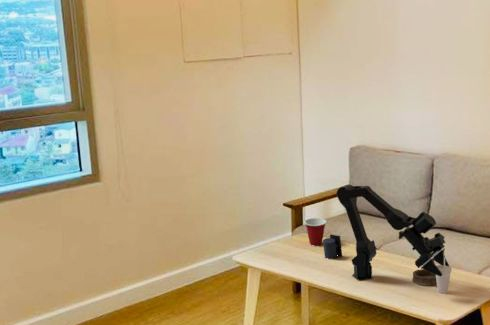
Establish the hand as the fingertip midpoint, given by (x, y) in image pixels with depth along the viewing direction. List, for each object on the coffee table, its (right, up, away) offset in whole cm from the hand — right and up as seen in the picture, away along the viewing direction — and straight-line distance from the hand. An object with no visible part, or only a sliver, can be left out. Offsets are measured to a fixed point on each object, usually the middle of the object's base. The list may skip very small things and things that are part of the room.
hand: (445, 272), depth 241 cm
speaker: (-37, -2, +48) cm, 61 cm away
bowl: (-3, -6, +14) cm, 15 cm away
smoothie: (0, -8, +2) cm, 8 cm away
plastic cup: (-42, +1, +70) cm, 81 cm away
